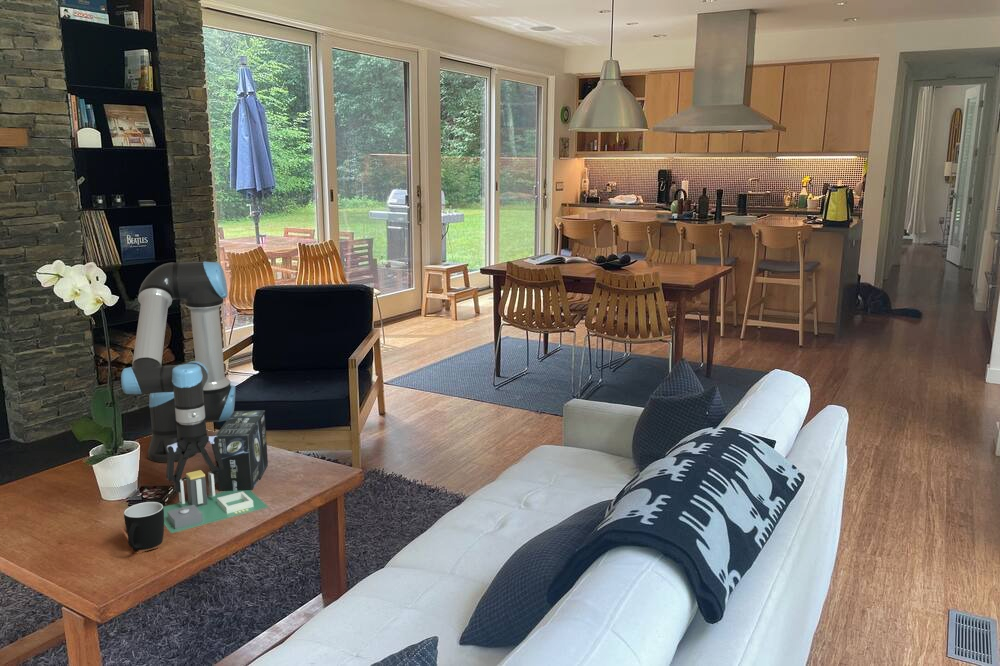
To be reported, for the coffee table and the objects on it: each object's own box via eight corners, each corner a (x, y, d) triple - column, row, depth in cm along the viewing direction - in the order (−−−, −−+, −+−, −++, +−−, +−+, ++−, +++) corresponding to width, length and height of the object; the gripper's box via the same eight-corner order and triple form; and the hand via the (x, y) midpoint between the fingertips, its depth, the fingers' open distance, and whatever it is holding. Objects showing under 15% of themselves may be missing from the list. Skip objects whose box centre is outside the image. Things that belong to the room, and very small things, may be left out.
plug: (188, 503, 215) (185, 473, 213) (203, 499, 217) (200, 469, 216) (193, 508, 211) (190, 478, 210) (208, 505, 214) (205, 475, 212)
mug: (139, 537, 197) (135, 501, 195) (173, 538, 196) (169, 502, 194) (113, 561, 185) (109, 522, 183) (150, 562, 185) (146, 523, 183)
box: (253, 495, 224) (249, 433, 220) (218, 496, 223) (213, 434, 219) (269, 465, 247) (265, 409, 243) (237, 466, 246) (233, 410, 242)
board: (153, 512, 211) (151, 498, 210) (245, 489, 227) (245, 476, 226) (171, 536, 197) (169, 522, 197) (268, 510, 213) (267, 496, 212)
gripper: (155, 432, 201) (162, 512, 205) (232, 417, 213) (238, 493, 218) (147, 424, 206) (155, 503, 211) (223, 410, 219) (229, 485, 223)
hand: (197, 498), depth 214 cm, fingers open, 8 cm apart
